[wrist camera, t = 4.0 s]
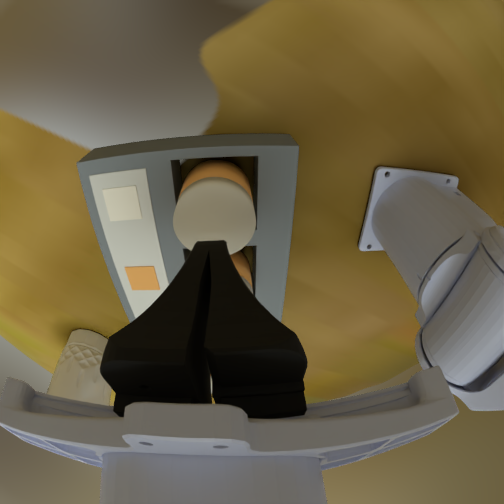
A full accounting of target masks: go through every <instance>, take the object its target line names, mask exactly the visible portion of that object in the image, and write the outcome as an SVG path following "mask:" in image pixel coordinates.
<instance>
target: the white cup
mask: <svg viewBox="0 0 504 504" xmlns="http://www.w3.org/2000/svg"><path fill="white" fill-rule="evenodd" d="M107 342H108V339H107V338H105V337H103V336H102V335H100V334H98V333H96V332H93V331H90V330H84V329H78V330H75V331H72V332H71V334H70V337H69V339H68V342H67V344H66V346H65V348H64V349H63V351H62V354H61V356H60V358H59V360H58V363H57V365H56V368H55V371H54V374H53V376H52V379H51V382H50V385H49V388H48V391H47V394H49V395H53V396H58V397H62V398H67V399H72V400H77V401H83V402H89V403H95V404H101V405H108V406H110V398H111V391H112V388H111V387H110V386H109V384H108V383H107V382H106V381H105V380H104V378H103V377H102V375H101V374H100V365H101V361H102V357H103V353H104V350H105V347H106V344H107Z"/></svg>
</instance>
